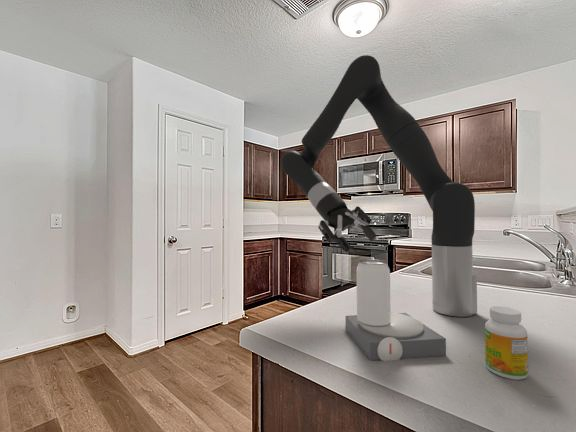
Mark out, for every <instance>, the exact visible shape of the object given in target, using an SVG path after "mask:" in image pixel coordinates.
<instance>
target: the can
mask: <svg viewBox="0 0 576 432" xmlns="http://www.w3.org/2000/svg"><path fill="white" fill-rule="evenodd" d="M391 313H392V311H391V270H390V267H389V265H388V261H386V260H383V259H382V260H380V259H360V260H358V264H357V267H356V315H357V319H358V320H359V322H360V323H362V324H364V325H367V326H373V327H382V326H386V325H388V324H389V323H390V320H391Z"/></svg>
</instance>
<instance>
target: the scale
mask: <svg viewBox="0 0 576 432" xmlns="http://www.w3.org/2000/svg"><path fill="white" fill-rule="evenodd" d="M345 330H346V332H347V333H348V335H350V337H351V338H352V339H353V341H354V343H356V345H357V346H358V347H359V348H360V349H361V351H362V352H363V353H364V355H365V356H366V357H367V358H368V359H369V361H380V360H381V362H388V361H399V360H400V359H412V358H425V357H426V358H427V357H429V358H430V357H442V356H444V357H445V356H447V339H446V338H445V337H444V336H443V335H441V334H439V333H438V332H436V331H435V330H433V329H432V328H430V327H429V326H427V325H426V324H424V323H422V322H421V320H419V319H416V318H415V317H413V316H411V315H410V314H408V313H407V312H397V313H396V312H391V320H390V323H389V324H388V325H386V326H382V327H373V326H367V325H364V324H362V323H360V322H359V320H358V319H357V314H352V315H345Z"/></svg>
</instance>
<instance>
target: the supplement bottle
mask: <svg viewBox="0 0 576 432" xmlns="http://www.w3.org/2000/svg"><path fill="white" fill-rule="evenodd" d="M489 317H490V318H491V319H488V320H487V321H486V322H485V324H484V341H485V343H484V345H485V346H484V349H485V350H484V351H485V352H484V355H485V357H484V358H485V366H486V367H485V368H486V369H487V370H489V371H490V372H491V373H493V374H495V375H496V376H499V377H502V378H506V379H509V380H515V381H516V380H517V381H518V380H519V381H520V380H525V379H527V377H528V375H529V358H528V357H529V356H528V355H529V354H528V353H529V351H528V347H529V346H528V330H527V329H526V327H525V326H524V325H523V324H520V323H521V321H522V312H521V311H520V310H518V309H515V308H513V307H512V308H511V307H506V306H496V305H495V306H491V307H489Z"/></svg>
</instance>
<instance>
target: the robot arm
mask: <svg viewBox="0 0 576 432" xmlns="http://www.w3.org/2000/svg"><path fill="white" fill-rule="evenodd" d="M381 73H382V72H381V68H380V64H379V61H377V59H376V58H375V57H374V56H371V55H368V54H367V55H366V54H363V55H360V56H358V57H356V58H355V59H354V60H353V61H352V62H351V63H350V64H349V66H348V67H347V69H346V71H345V72H344V75H343V76H342V78H341V80H340V82H339V84H338V86H337V88H336V89H335V91H334V92H333V94H332V96H331V97H330V99H329V100H328V102H327V103H326V105H325V106H324V109H323V110H322V111H321V112H320V113H319V115H318V117H317V119H316V120H315V121H314V122H313V123H312V125H311V127H310V128H309V129H307V132H306V133H305V134H304V135H303V137H302V139H301V144H302V146H303V149H302V151H301V153H300V152H298V151H296V150H287V151H286V152H285V153H283V155H282V156H281V159H280V164H281V165H280V166H281V169H282V170H283V172H284V173H285V174H286V175H287V176H288V177H289V178H290V179H291V180H292V181H293V182H294V183H295V184H296V185H297V186H298V187H299V188H300V190H301V191H302V192H303V194H304V195H305V197H306V198H307V199H308V200H309V202H310V204H311V205H312V207H314V209H315V210H316V212H317V213H318V215H320V216H321V218H322V219H321V220H320V222H319V224H318V228H317V229H319V231H320V232H321V234H322V236H323V237H324V238H325V240H326V241H327V242H328V243H329V244H332V243H337V244H338V245H339V247H340V249H342V251H343V252H345V253H350V252H351V250H352V249H353V248H352V246H351V245H350V243H349V241H348V240H346V238H345V237H344V236H342V235H343V233H342V232H344V231H346V230H348V229H349V230H350V229H351V228H353V229H359V230H361V231H362V233H363V234H364V235H365V236H366V238H368V240H369V241H371V242H373V241H374V240H375V239H376V238H377V233H376V232H375V231H374V230H373V228H371V226H370V224H371V223H372V221H373V220H372V218H371V217H370V216H369V215H368V214H367V213H366V212H365V211H364V210H363V209H362V208H361V207H360V206H356V207H355V208H354V209H352V210H351V209H349V208H348V206H347V203H346V202H345V201H344V200H343V198H342V197H341V196H340V194H338V193H337V192H336V190H335V189H334V188H333V187H332V186H331V185H330V184H328V183H327V181H326V180H325V179H324V178H323V177H322V176H321V174H320V173H318V172H317V171H316V170H314V167H315V165H316V163H317V161H318V160H319V156H320V154H321V153H322V151H323V150H324V149H325V148H326V147H327V144H329V143H330V141H331V139H333V137H334V135H335V134H336V132H338V131H337V130H338V129H339V127H340V125H341V124H342V122H343V119H344V117H345V115H346V113H347V112H348V110H349V109H350V107H351V106H352V105H353V103H354V102H355V101H356V100H358V102H360V104H361V105H362V106H363V107H364V108H365V110H366V111H367V112H368V113H369V115H370V116H371V117H372V119H373V120H374V123H375V126H376V127H377V129H378V130H379V132H380V134H381V136H382V137H383V139H384V141H385V142H386V144H387V145H388V146H389V147H388V148H390V150H391V151H392V153H393V154H394V155H395V157H396V158H397V159H398V160H399V162H400V163H401V164H402V166H403V167H404V168H405V169H406V171H407V172H408V173H409V174H410V176H411V177H412V178H413V179H414V181H415V182H416V183H417V185H418V187H419V188H420V190H421V192H422V194H423V196H424V198H425V199H426V202H427V203H428V206H429V208H430V209H431V211H432V232H431V269H432V270H431V276H432V277H431V282H432V283H431V284H432V288H431V289H432V310H433V311H434V312H436V313H439V314H442V315H445V316H450V317H460V318H462V317H471V316H473V315H477V314H478V279H477V278H478V277H477V276H476V275H475V274H474V272H473V270H474V268H473V267H474V264H473V261H474V259H473V238H474V234H475V222H476V221H475V219H476V218H475V217H476V215H475V213H476V211H475V210H476V206H475V205H476V204H475V197H474V193H473V192H472V189H470V187H468V186H467V185H465V184H463V183H460V182H454V181H453V180H452V179H451V178H450V177H449V175H448V174H447V173H446V171H444V169H443V168H442V166H441V164H440V163H439V161H438V158H437V155H436V153H435V150H434V148H433V146H432V143H431V141H430V140H429V139H430V138H429V137H428V136H427V133H426V132H425V130H424V129H423V128H422V126H421V125H420V124H419V122H418V121H417V120H416V119H415V118H414V116H413V115H412V114H411V113H409V112H408V111H407V110H406V108H404V107H402V106H401V105H400V104H399V103H398V102H397V101H395V100H394V98H393V97H392V95H391V93H390V92H389V91H388V89H387V87H386V85H385V83H384V81H383V79H382V75H381ZM331 228H332V229H333V231H332V230H331Z"/></svg>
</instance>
